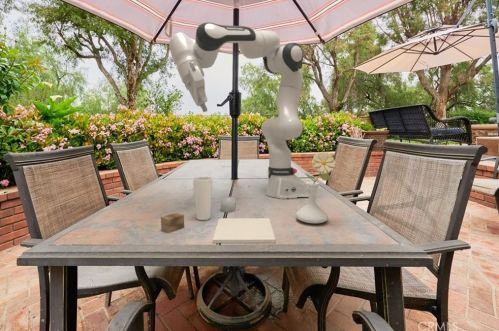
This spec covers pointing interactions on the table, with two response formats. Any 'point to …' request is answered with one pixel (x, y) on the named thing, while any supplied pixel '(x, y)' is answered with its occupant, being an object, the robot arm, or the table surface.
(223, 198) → the grey plastic tub
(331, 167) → the flower in vase
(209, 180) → the drinking glass
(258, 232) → the cream tile
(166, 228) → the walnut block
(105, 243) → the table surface
